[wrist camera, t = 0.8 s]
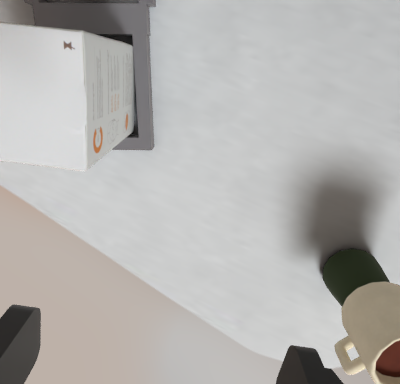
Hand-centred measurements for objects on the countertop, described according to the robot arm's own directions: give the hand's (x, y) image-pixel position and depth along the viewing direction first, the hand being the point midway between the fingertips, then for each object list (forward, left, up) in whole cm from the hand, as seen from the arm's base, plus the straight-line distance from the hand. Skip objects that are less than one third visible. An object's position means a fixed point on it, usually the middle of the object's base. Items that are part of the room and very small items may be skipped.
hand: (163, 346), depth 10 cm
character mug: (-18, +13, -24) cm, 33 cm away
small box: (+9, -7, -24) cm, 26 cm away
